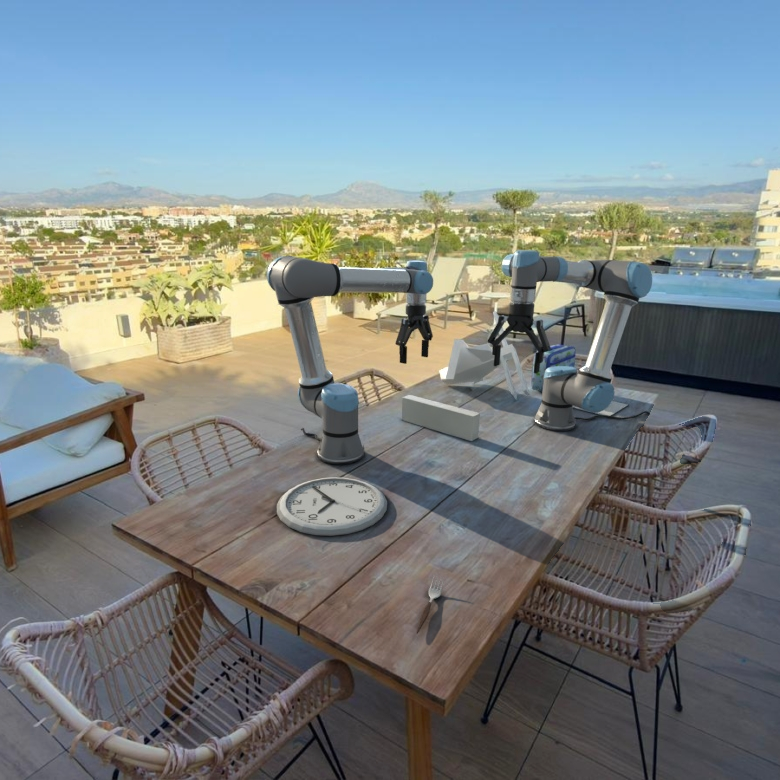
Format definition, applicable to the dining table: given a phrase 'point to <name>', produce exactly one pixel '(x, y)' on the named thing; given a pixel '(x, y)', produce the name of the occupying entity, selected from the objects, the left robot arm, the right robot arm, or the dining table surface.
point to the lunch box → (552, 363)
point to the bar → (441, 417)
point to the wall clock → (331, 506)
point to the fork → (433, 594)
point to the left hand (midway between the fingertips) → (414, 359)
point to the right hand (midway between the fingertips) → (515, 368)
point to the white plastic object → (480, 363)
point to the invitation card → (610, 408)
